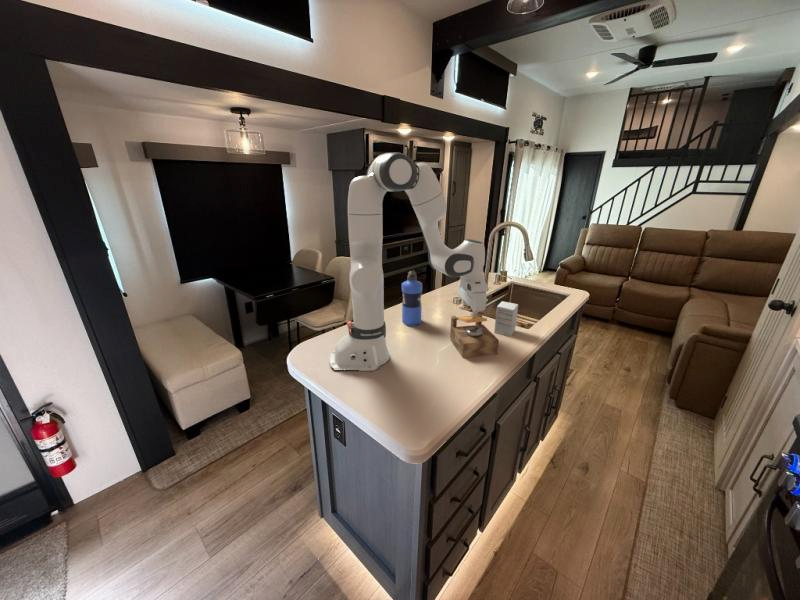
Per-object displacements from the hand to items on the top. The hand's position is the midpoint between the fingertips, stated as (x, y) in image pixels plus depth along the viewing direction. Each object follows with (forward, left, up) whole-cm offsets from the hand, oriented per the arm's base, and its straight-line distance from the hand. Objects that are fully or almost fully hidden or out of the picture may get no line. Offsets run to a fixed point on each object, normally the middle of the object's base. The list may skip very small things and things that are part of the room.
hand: (469, 313), depth 126 cm
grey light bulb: (0, -7, -11) cm, 13 cm away
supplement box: (+19, +3, -12) cm, 22 cm away
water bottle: (-19, +21, -12) cm, 31 cm away
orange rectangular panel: (0, -3, -2) cm, 4 cm away
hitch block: (0, -5, -12) cm, 13 cm away
